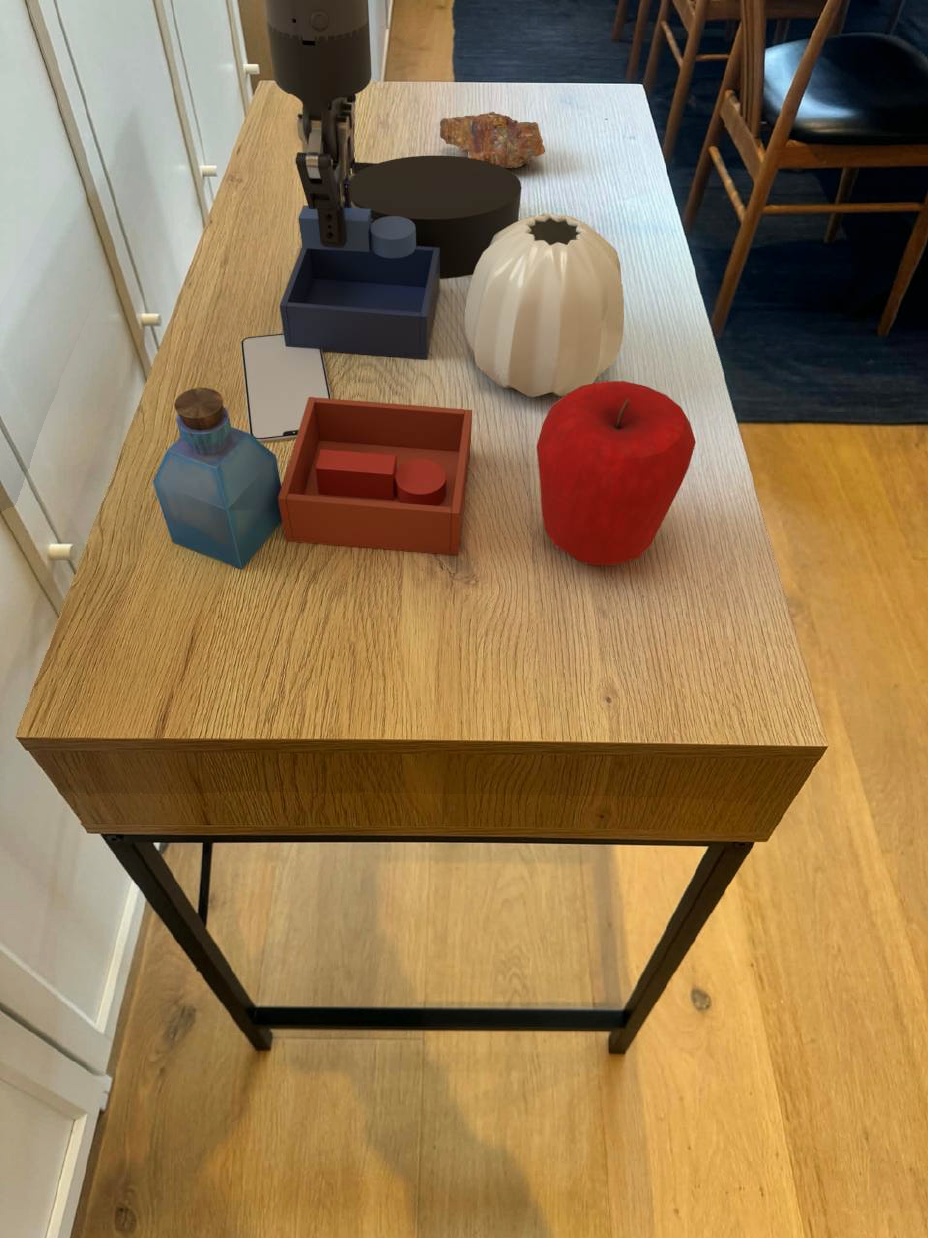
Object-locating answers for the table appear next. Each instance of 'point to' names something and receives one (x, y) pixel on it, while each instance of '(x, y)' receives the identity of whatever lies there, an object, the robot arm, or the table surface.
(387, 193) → the black oval cylinder
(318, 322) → the navy bin
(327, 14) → the robot arm
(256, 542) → the perfume bottle
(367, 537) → the terracotta bin
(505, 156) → the mineral specimen
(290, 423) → the smartphone
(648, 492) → the apple
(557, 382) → the vase
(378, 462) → the red spoon
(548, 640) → the table surface
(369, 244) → the blue spoon
